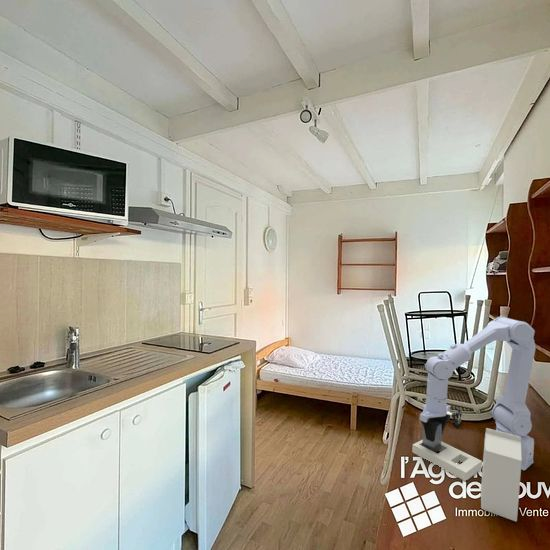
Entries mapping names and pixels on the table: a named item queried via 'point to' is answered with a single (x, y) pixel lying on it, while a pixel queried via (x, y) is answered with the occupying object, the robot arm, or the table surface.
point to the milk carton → (501, 474)
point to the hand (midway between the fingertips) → (433, 438)
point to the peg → (437, 441)
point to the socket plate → (450, 460)
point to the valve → (456, 416)
